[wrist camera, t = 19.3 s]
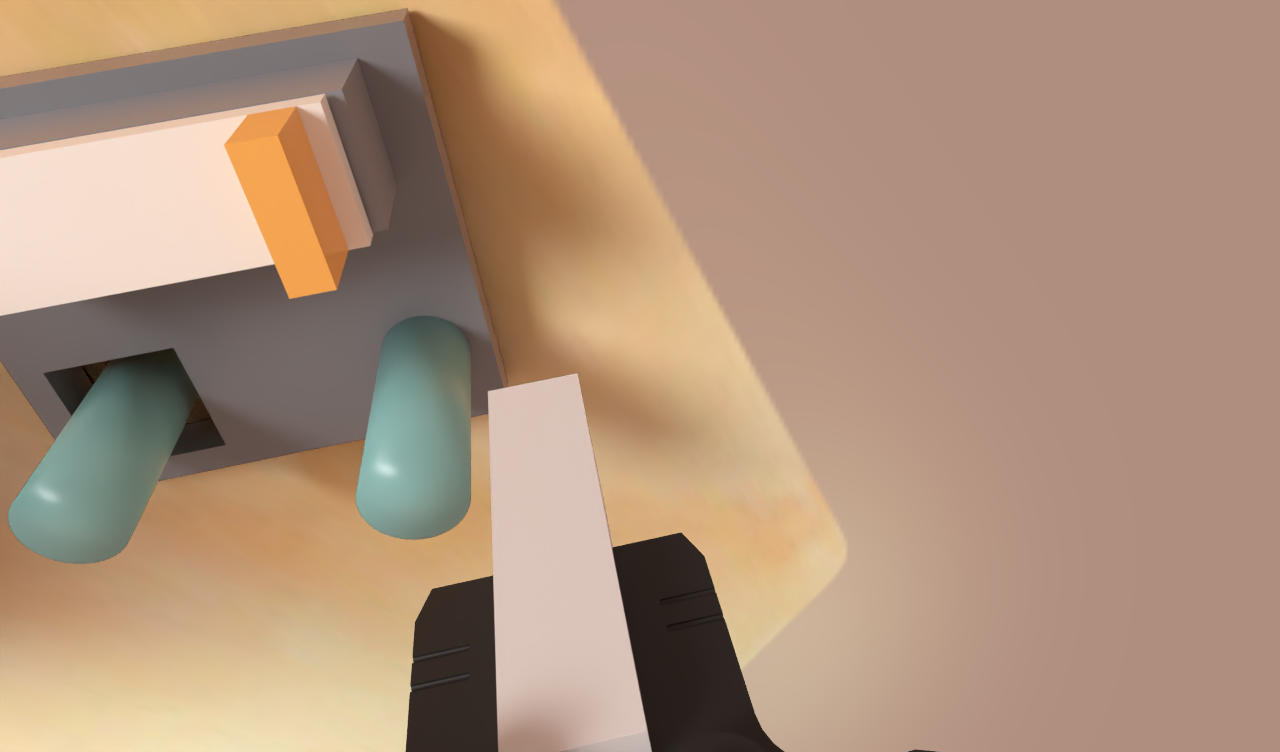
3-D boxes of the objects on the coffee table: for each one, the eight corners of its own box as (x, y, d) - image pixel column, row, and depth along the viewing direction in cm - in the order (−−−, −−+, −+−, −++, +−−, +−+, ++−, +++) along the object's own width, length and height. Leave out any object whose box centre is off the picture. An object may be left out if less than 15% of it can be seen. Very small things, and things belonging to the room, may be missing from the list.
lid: (-91, 321, 28) (-166, 385, 25) (-193, 184, 25) (-293, 236, 22) (373, 234, 29) (360, 285, 26) (324, 93, 26) (304, 130, 23)
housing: (111, 461, 41) (-9, 672, 31) (-125, 98, 31) (-427, 231, 20) (507, 381, 42) (519, 557, 32) (407, 8, 32) (377, 91, 22)
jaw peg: (91, 352, 37) (-16, 497, 29) (179, 335, 38) (98, 474, 30) (132, 420, 40) (44, 572, 32) (215, 403, 40) (150, 550, 32)
